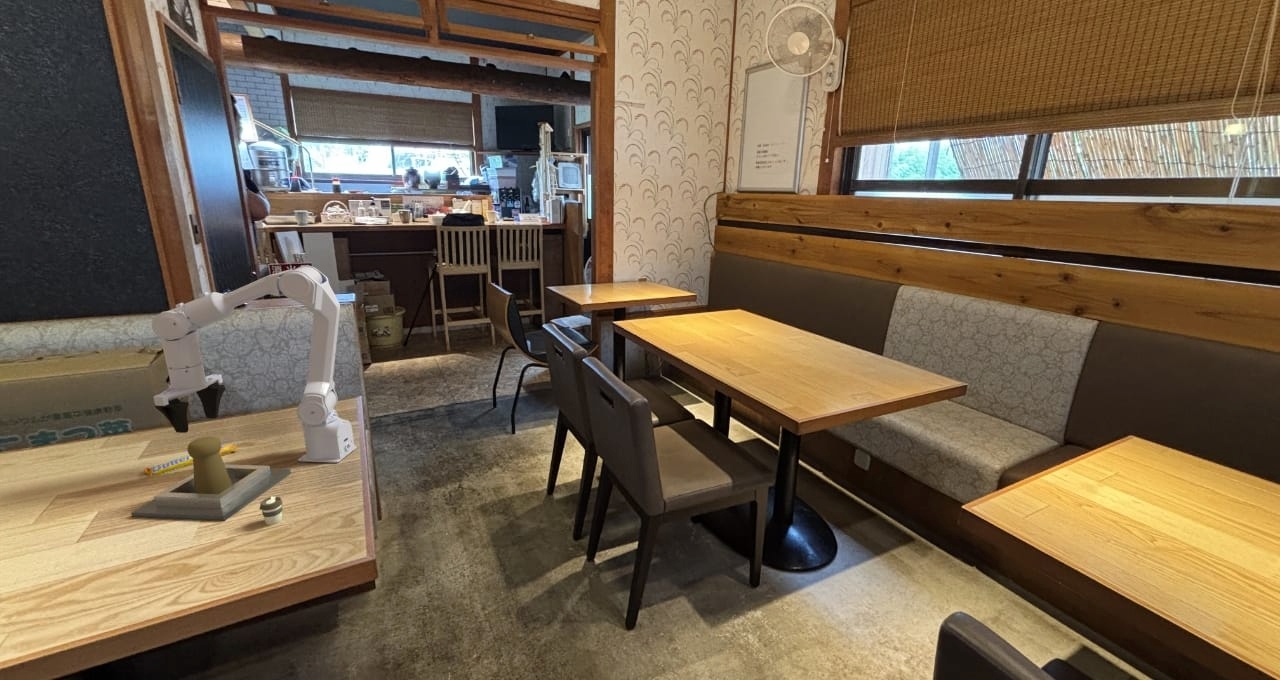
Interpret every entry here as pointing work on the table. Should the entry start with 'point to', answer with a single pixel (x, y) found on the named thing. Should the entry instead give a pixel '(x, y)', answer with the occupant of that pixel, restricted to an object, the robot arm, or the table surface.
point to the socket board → (212, 495)
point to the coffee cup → (272, 510)
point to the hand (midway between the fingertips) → (197, 424)
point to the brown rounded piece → (208, 466)
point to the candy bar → (183, 462)
